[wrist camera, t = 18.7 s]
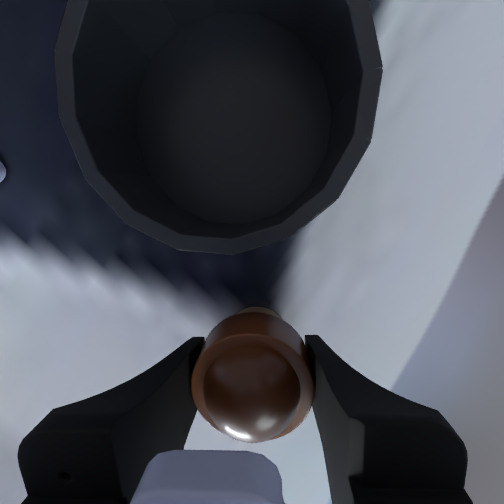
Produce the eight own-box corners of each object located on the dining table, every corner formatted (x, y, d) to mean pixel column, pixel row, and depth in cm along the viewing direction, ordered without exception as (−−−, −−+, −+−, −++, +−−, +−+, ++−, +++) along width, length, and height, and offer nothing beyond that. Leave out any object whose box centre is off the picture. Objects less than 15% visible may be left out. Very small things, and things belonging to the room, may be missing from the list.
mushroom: (194, 327, 15) (147, 411, 9) (262, 274, 14) (256, 330, 8) (252, 389, 16) (240, 503, 10) (320, 341, 15) (352, 437, 9)
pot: (87, 118, 13) (-7, 80, 9) (243, -56, 11) (225, -217, 7) (224, 272, 15) (202, 308, 10) (386, 139, 13) (449, 109, 8)
